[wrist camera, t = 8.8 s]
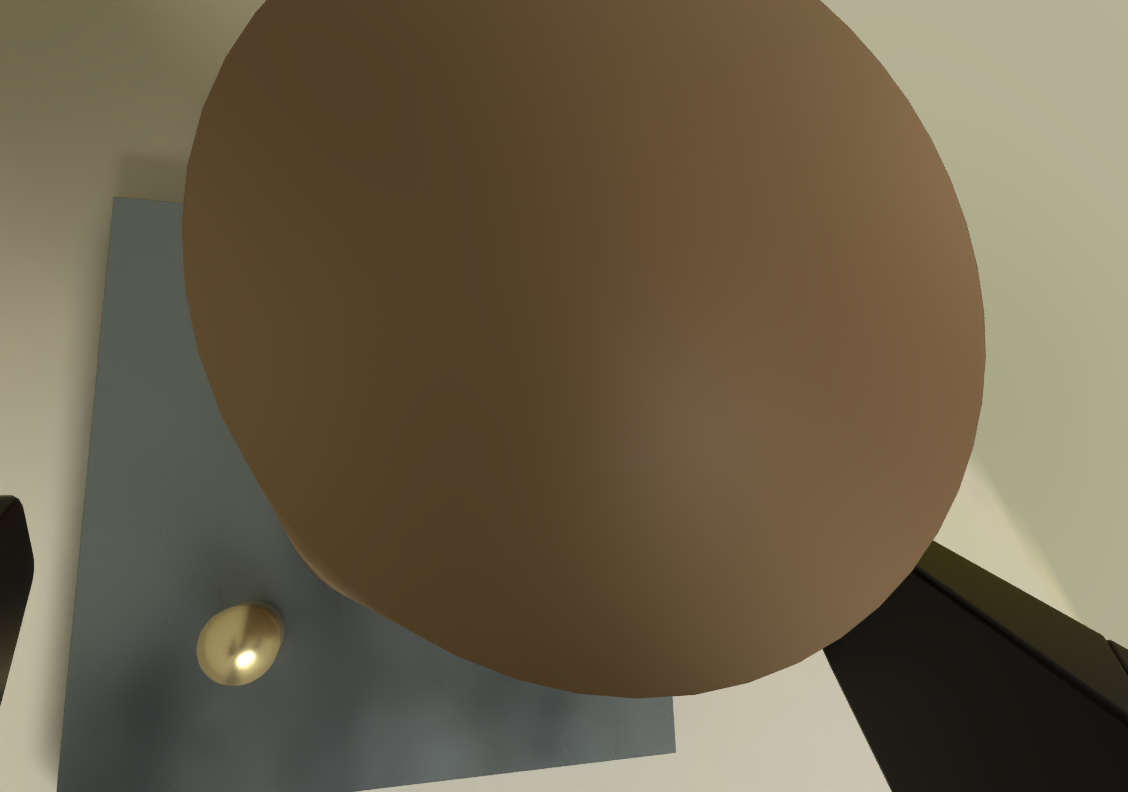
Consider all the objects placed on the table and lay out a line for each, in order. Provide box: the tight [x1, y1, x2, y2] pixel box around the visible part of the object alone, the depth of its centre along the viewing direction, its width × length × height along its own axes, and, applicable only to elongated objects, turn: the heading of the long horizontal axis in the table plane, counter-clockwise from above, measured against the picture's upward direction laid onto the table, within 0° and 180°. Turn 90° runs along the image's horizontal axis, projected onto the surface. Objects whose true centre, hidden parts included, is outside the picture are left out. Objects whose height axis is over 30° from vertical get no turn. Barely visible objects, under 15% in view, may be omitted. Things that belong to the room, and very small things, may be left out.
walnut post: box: [181, 0, 986, 699], centre depth 11 cm, size 5×5×13 cm
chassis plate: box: [57, 197, 676, 792], centre depth 16 cm, size 12×12×4 cm
